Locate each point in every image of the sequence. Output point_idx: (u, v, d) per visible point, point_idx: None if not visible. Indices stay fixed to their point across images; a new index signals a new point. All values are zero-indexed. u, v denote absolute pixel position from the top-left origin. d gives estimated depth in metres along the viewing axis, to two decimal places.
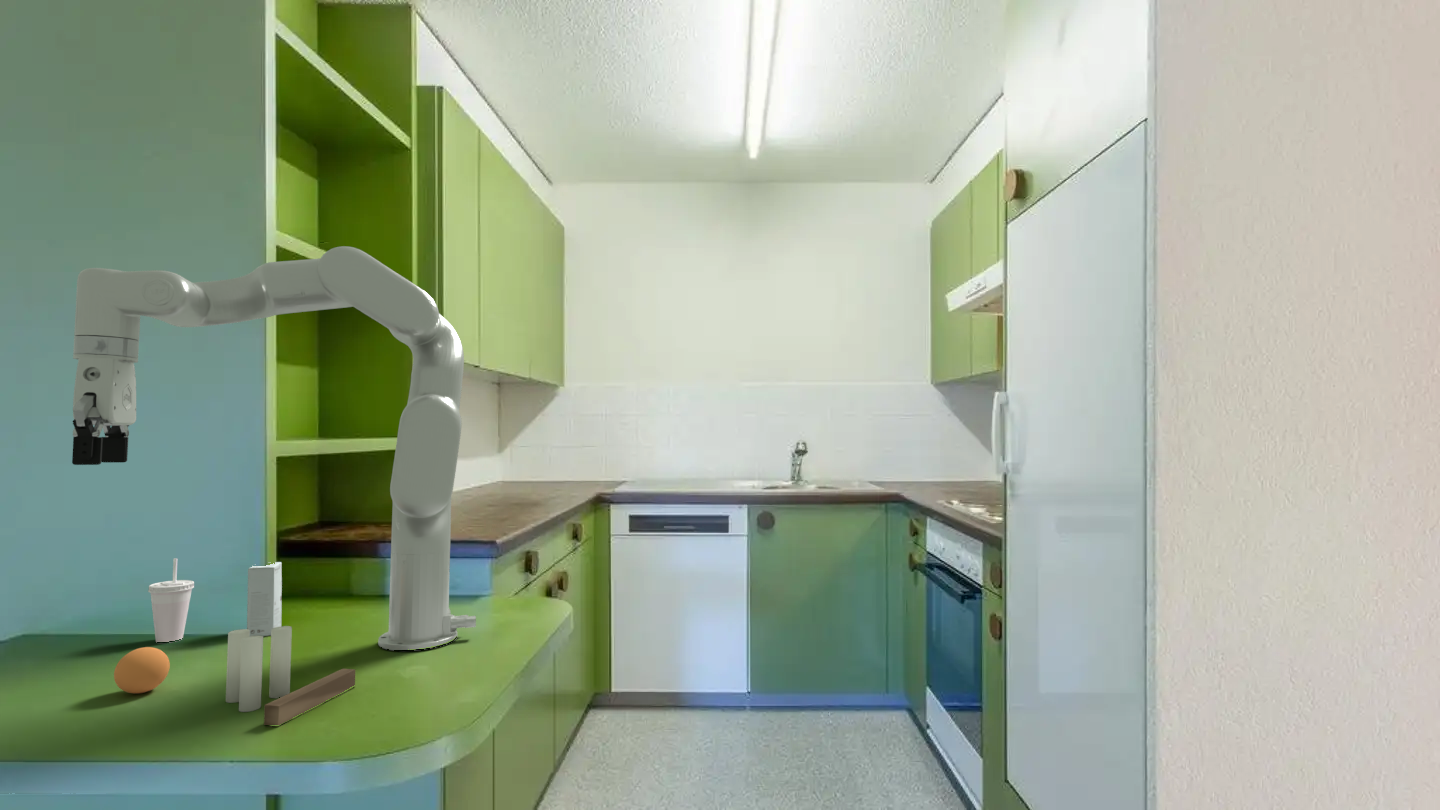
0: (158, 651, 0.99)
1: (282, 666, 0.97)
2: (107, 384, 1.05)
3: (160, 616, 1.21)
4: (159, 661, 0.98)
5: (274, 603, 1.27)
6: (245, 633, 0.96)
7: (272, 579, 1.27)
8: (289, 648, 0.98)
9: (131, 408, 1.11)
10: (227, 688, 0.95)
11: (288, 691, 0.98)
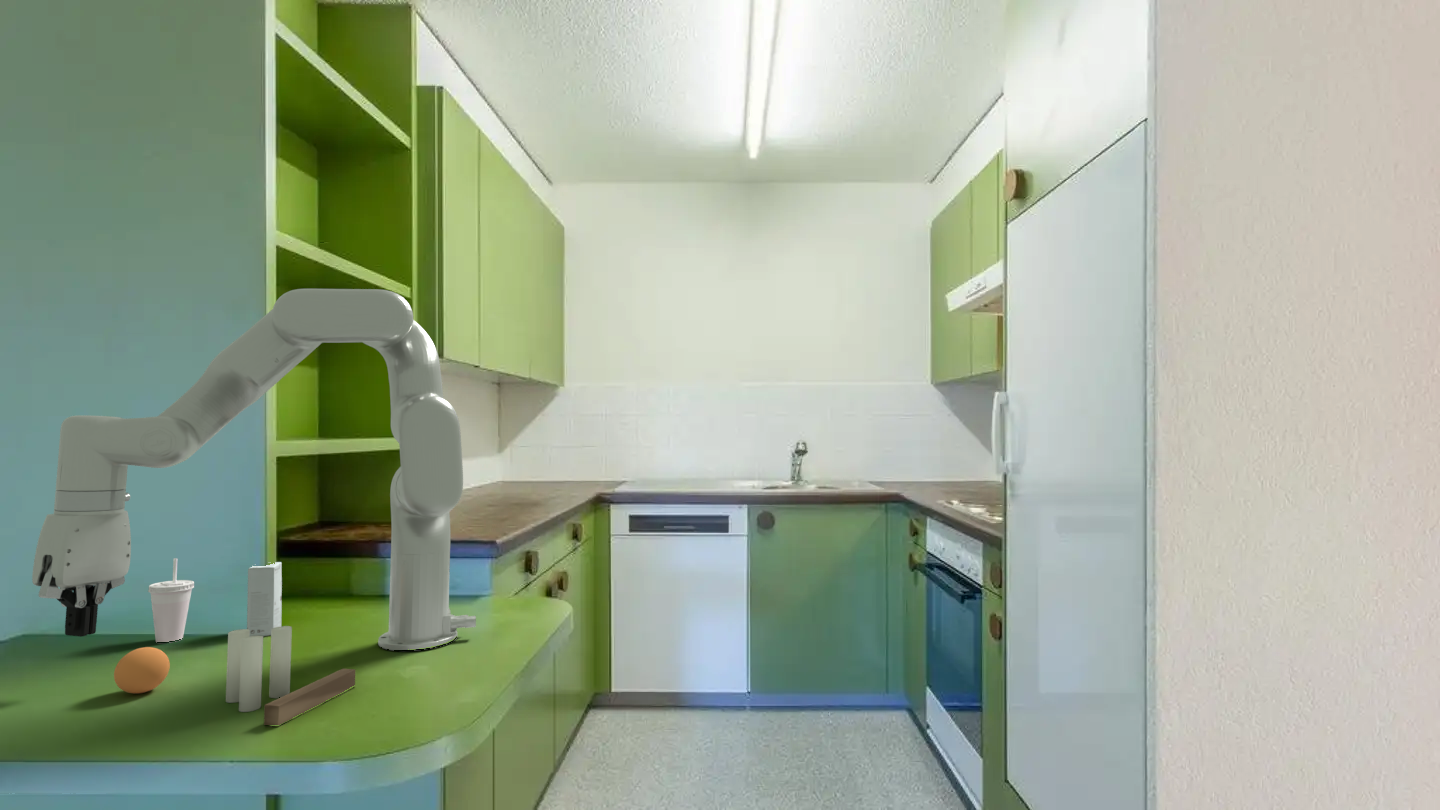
0: (158, 651, 0.99)
1: (282, 666, 0.97)
2: None
3: (160, 616, 1.21)
4: (159, 661, 0.98)
5: (274, 603, 1.27)
6: (245, 633, 0.96)
7: (272, 579, 1.27)
8: (289, 648, 0.98)
9: None
10: (227, 688, 0.95)
11: (288, 691, 0.98)
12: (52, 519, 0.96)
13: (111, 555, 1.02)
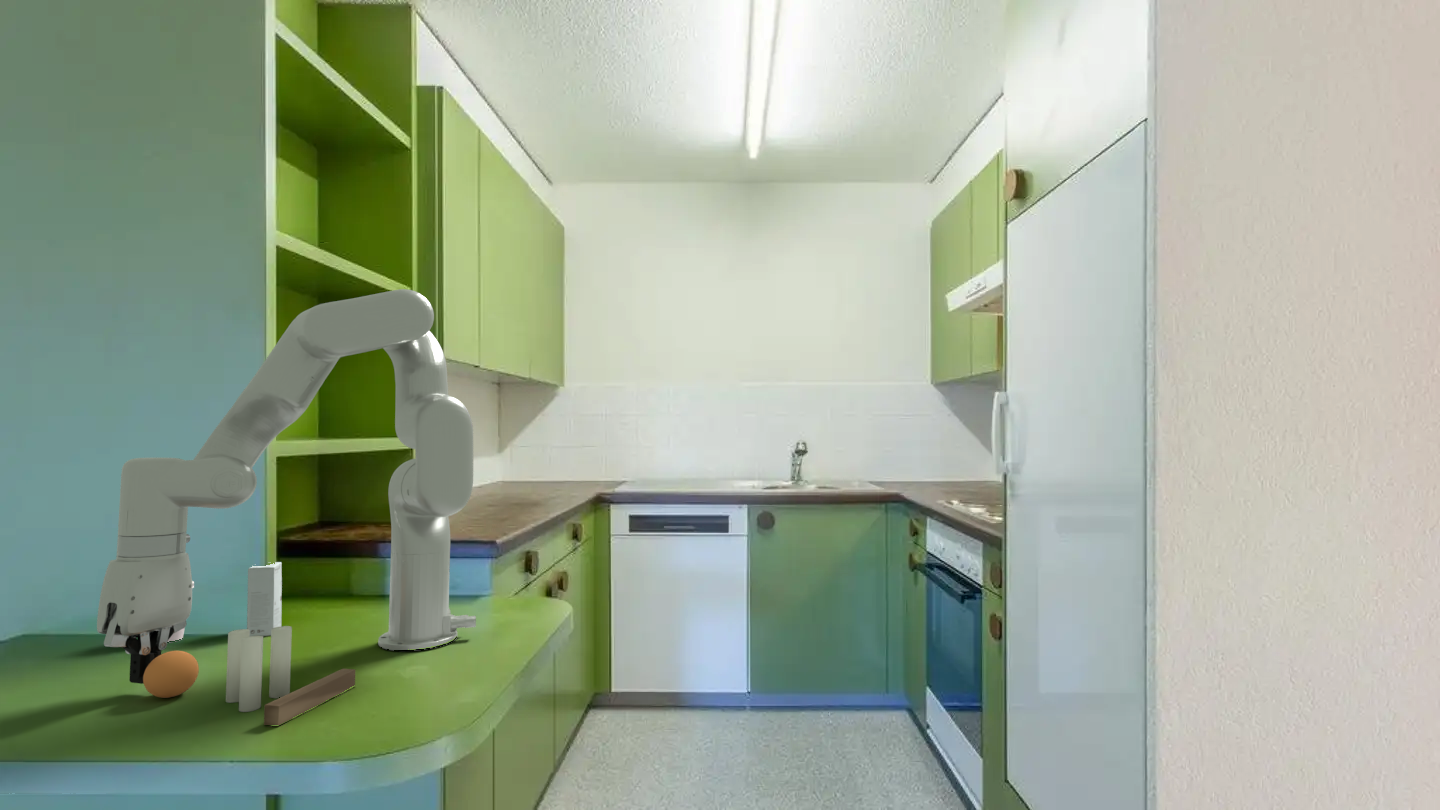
0: (191, 684, 0.97)
1: (282, 666, 0.97)
2: None
3: None
4: None
5: (274, 603, 1.27)
6: (245, 633, 0.96)
7: (272, 579, 1.27)
8: (289, 648, 0.98)
9: None
10: (227, 688, 0.95)
11: (288, 691, 0.98)
12: (116, 566, 0.94)
13: (174, 599, 1.00)
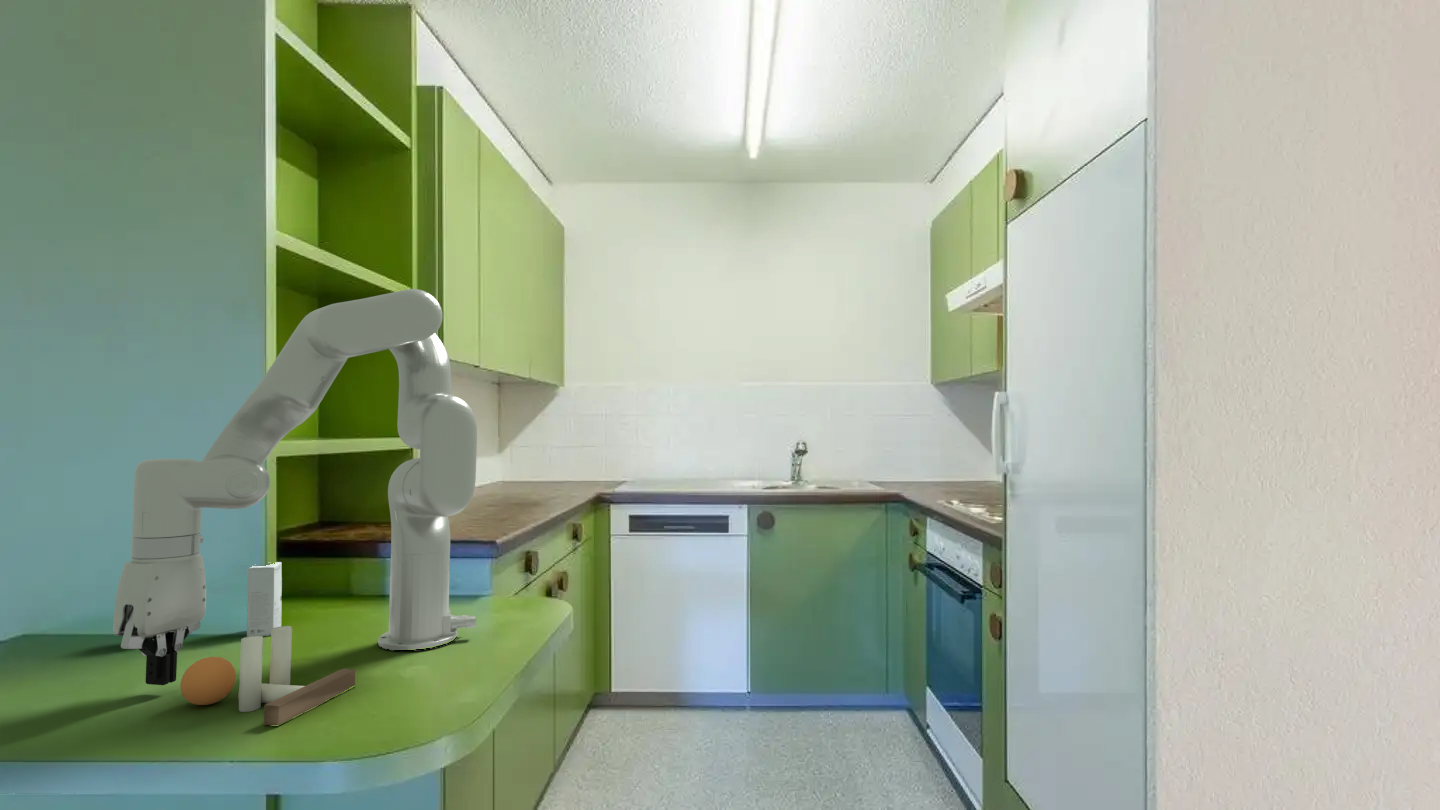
0: None
1: (282, 666, 0.97)
2: None
3: None
4: None
5: (274, 603, 1.27)
6: None
7: (272, 579, 1.27)
8: (289, 648, 0.98)
9: None
10: None
11: None
12: (131, 567, 0.94)
13: (189, 600, 0.99)
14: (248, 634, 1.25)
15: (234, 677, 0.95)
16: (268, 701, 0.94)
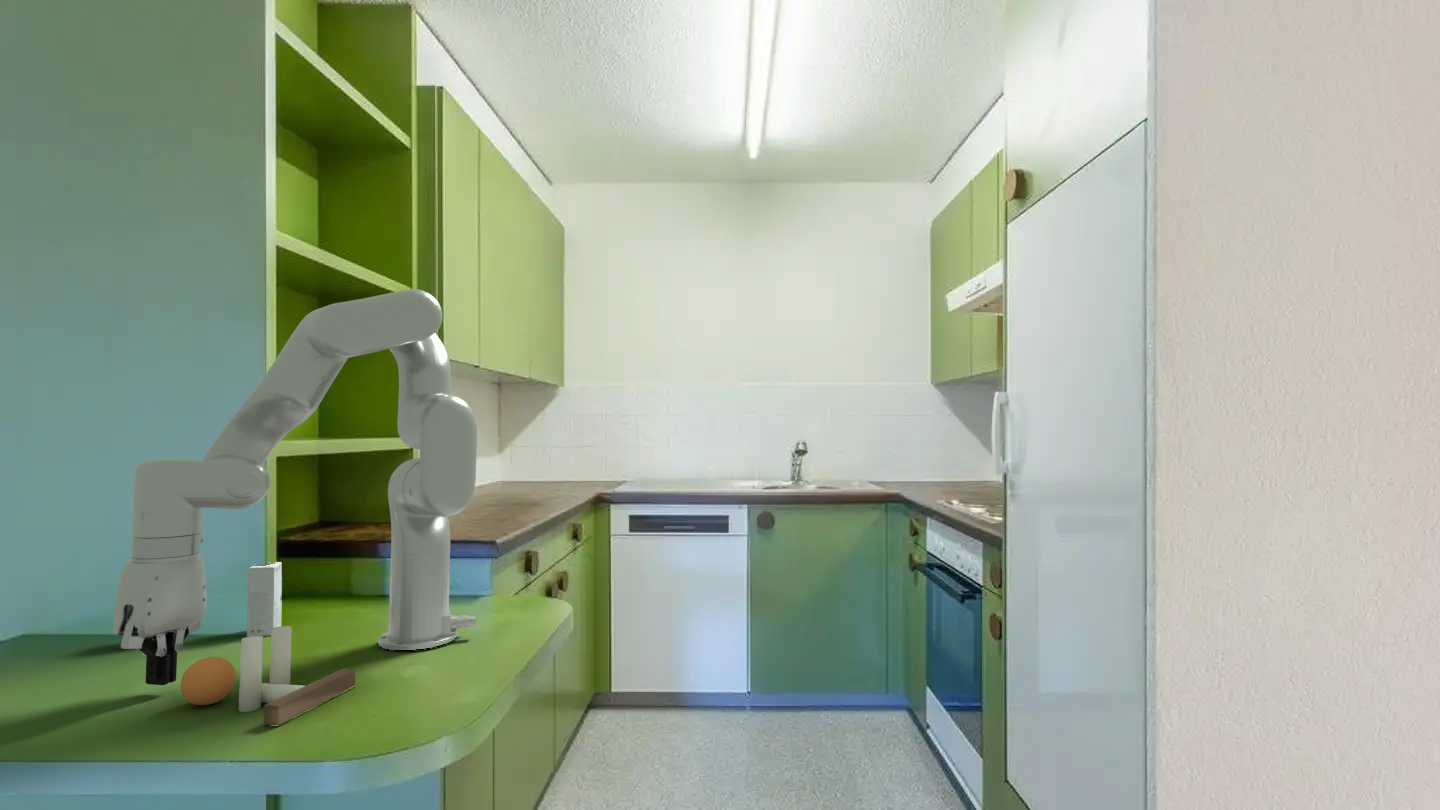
0: None
1: (282, 666, 0.97)
2: None
3: None
4: None
5: (274, 603, 1.27)
6: None
7: (272, 579, 1.27)
8: (289, 648, 0.98)
9: None
10: None
11: None
12: (131, 567, 0.94)
13: (189, 600, 0.99)
14: (248, 634, 1.25)
15: (234, 677, 0.95)
16: (268, 700, 0.94)
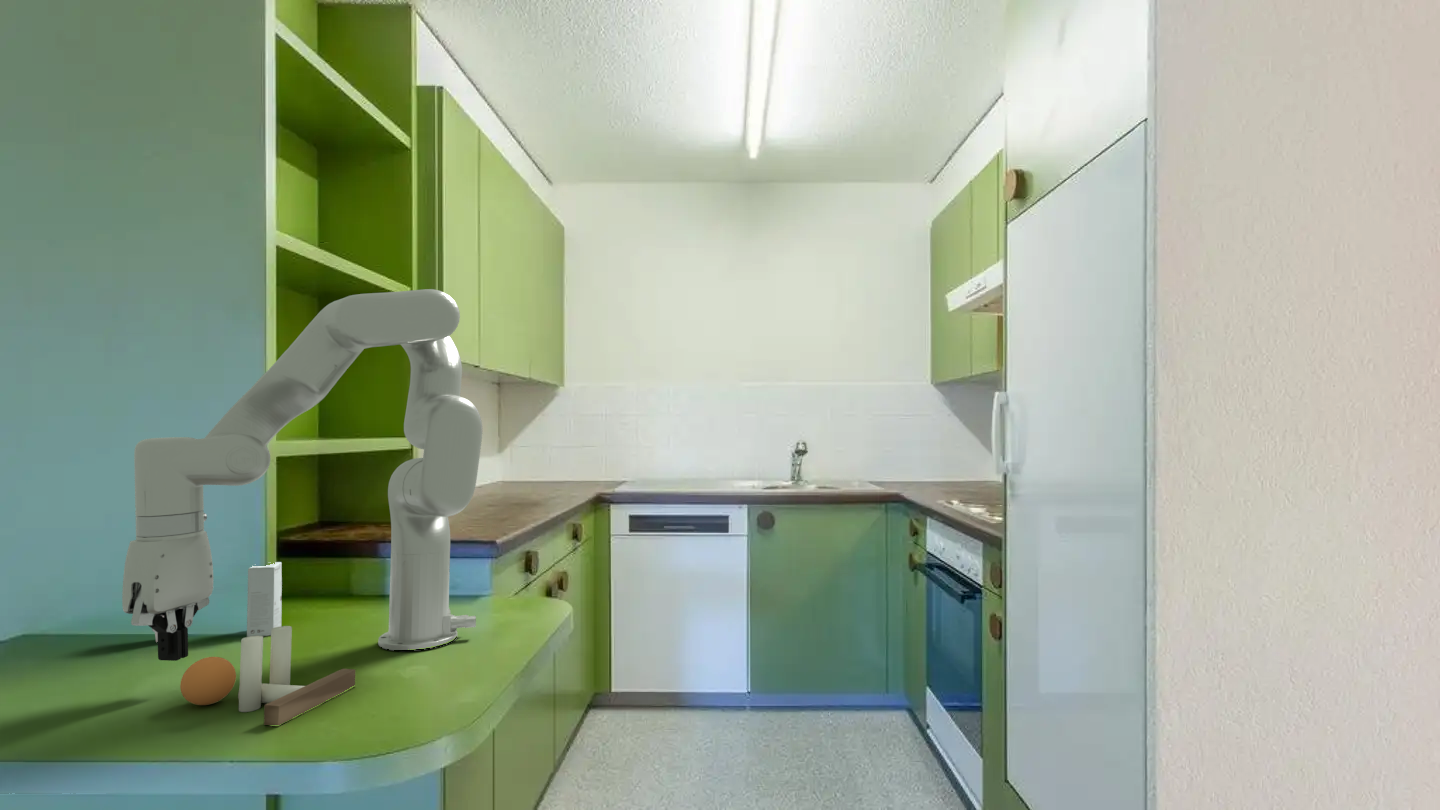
0: None
1: (282, 666, 0.97)
2: None
3: None
4: None
5: (274, 603, 1.27)
6: None
7: (272, 579, 1.27)
8: (289, 648, 0.98)
9: None
10: None
11: None
12: (137, 546, 0.95)
13: (196, 577, 1.00)
14: (248, 634, 1.25)
15: (234, 677, 0.95)
16: (268, 701, 0.94)
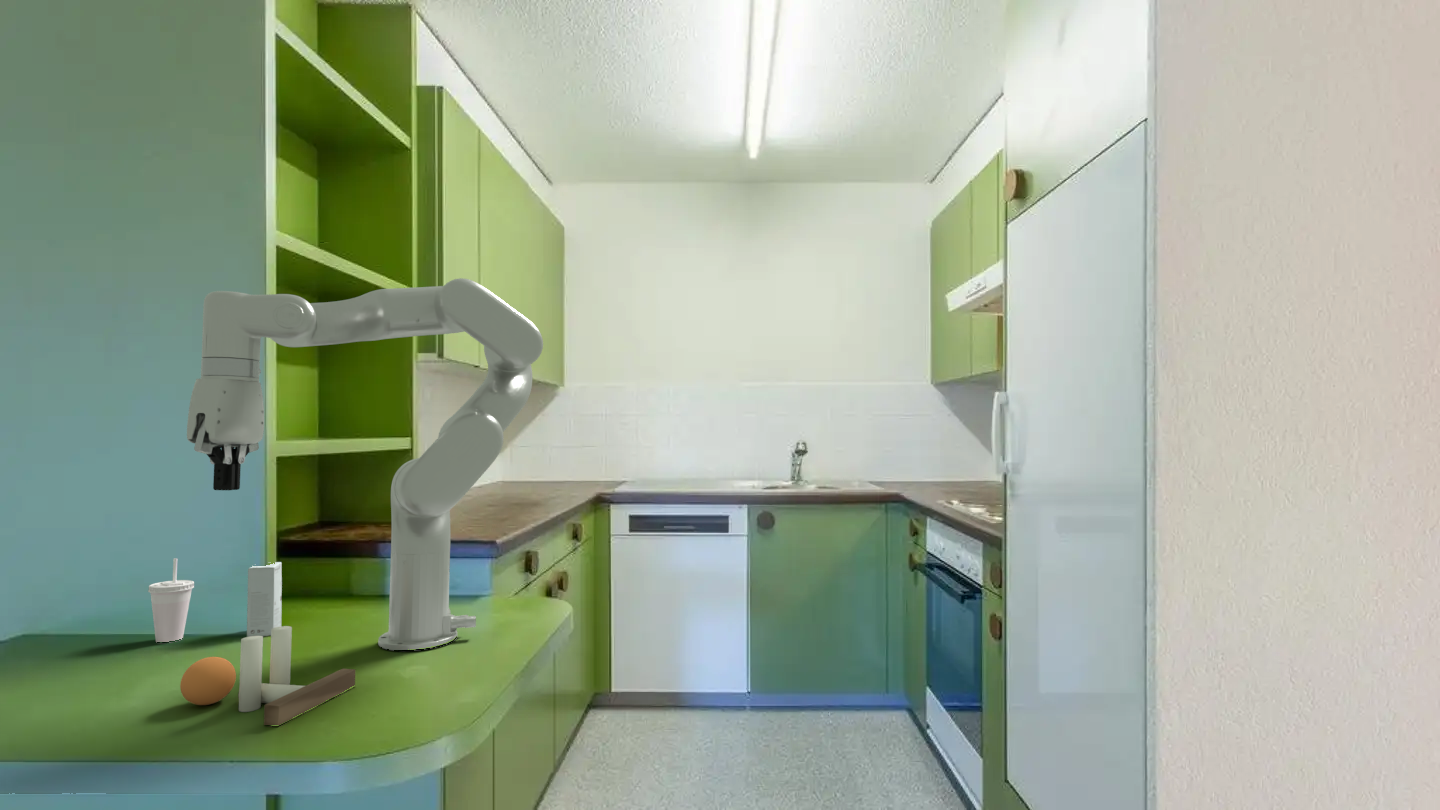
0: None
1: (282, 666, 0.97)
2: None
3: (160, 616, 1.21)
4: None
5: (274, 603, 1.27)
6: None
7: (272, 579, 1.27)
8: (289, 648, 0.98)
9: None
10: None
11: None
12: (203, 381, 1.07)
13: (250, 419, 1.12)
14: (248, 634, 1.25)
15: (234, 677, 0.95)
16: (268, 701, 0.94)
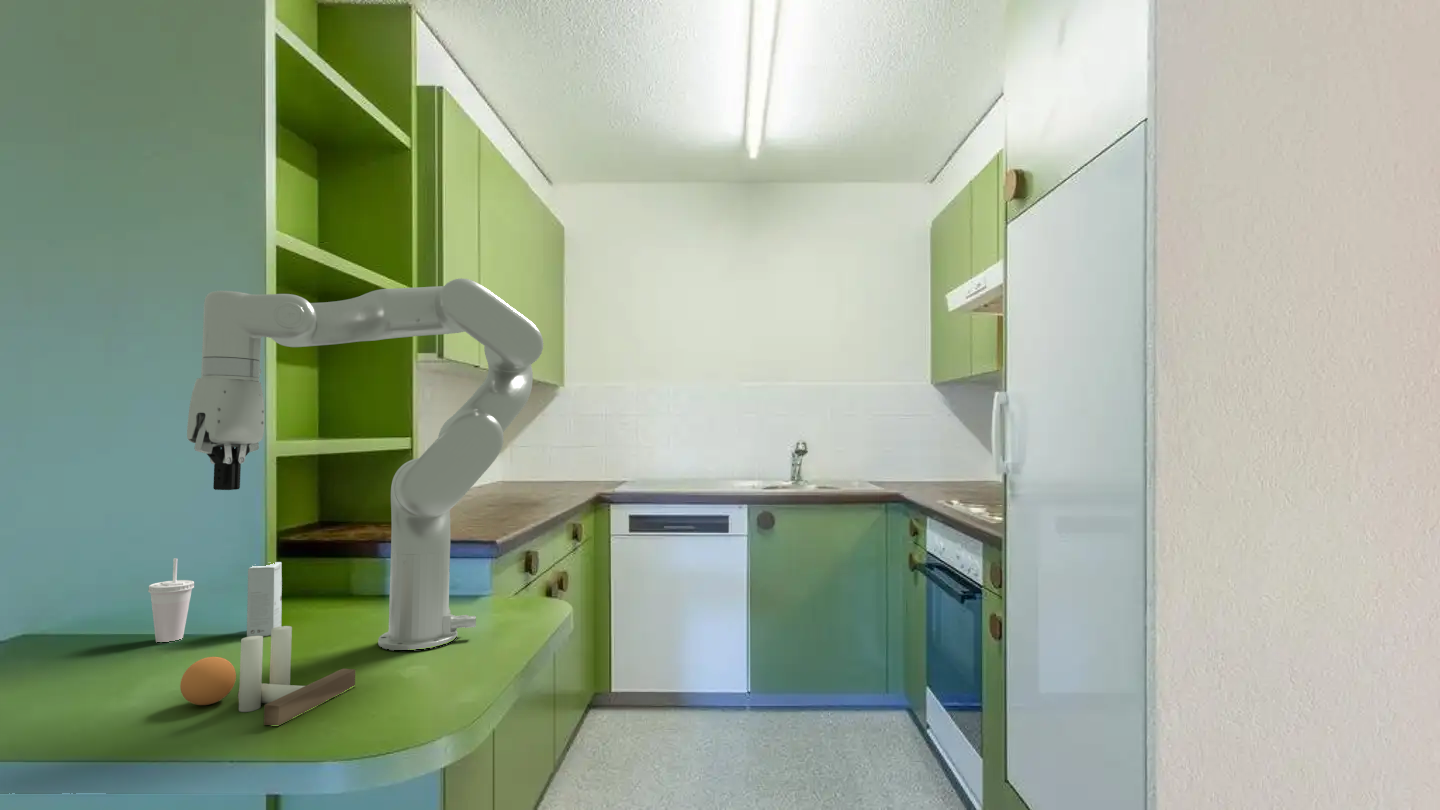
0: None
1: (282, 666, 0.97)
2: None
3: (160, 616, 1.21)
4: None
5: (274, 603, 1.27)
6: None
7: (272, 579, 1.27)
8: (289, 648, 0.98)
9: None
10: None
11: None
12: (203, 381, 1.07)
13: (250, 419, 1.12)
14: (248, 634, 1.25)
15: (234, 677, 0.95)
16: (268, 701, 0.94)
